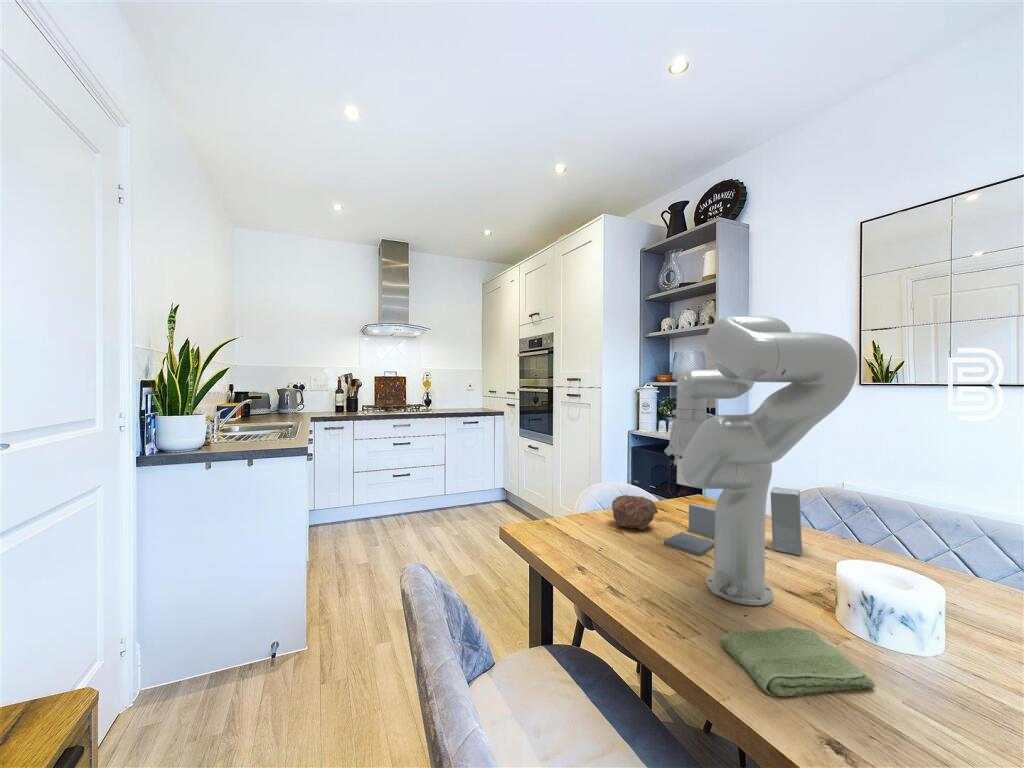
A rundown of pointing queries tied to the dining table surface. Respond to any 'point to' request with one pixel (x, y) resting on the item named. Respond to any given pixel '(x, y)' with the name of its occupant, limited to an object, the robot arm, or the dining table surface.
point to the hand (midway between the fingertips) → (689, 480)
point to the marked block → (680, 474)
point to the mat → (689, 543)
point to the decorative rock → (633, 511)
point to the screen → (702, 520)
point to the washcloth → (793, 662)
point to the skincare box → (786, 520)
